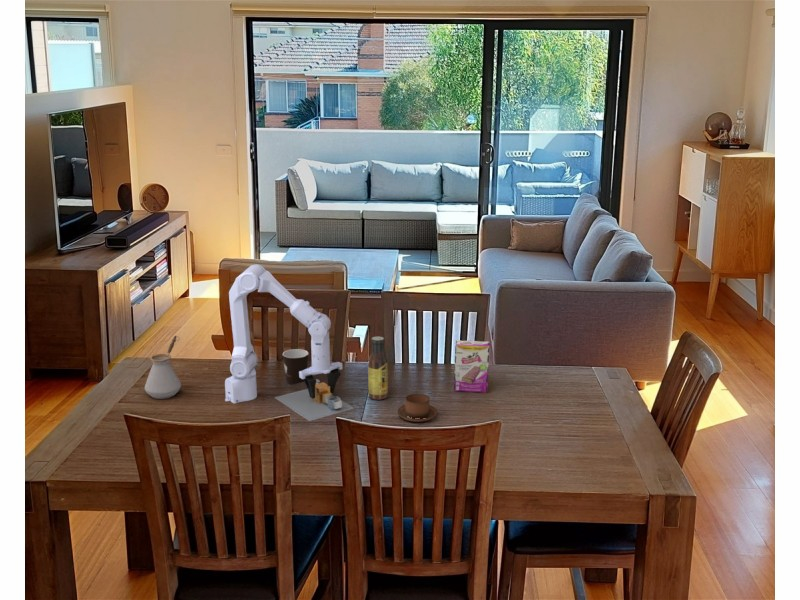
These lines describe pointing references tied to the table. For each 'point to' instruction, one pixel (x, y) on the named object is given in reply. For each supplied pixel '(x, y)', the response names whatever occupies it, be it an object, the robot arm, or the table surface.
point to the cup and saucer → (417, 408)
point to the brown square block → (320, 391)
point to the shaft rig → (331, 400)
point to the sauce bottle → (378, 370)
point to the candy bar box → (471, 366)
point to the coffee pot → (162, 376)
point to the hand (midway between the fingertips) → (321, 394)
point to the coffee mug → (295, 364)
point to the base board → (309, 405)
